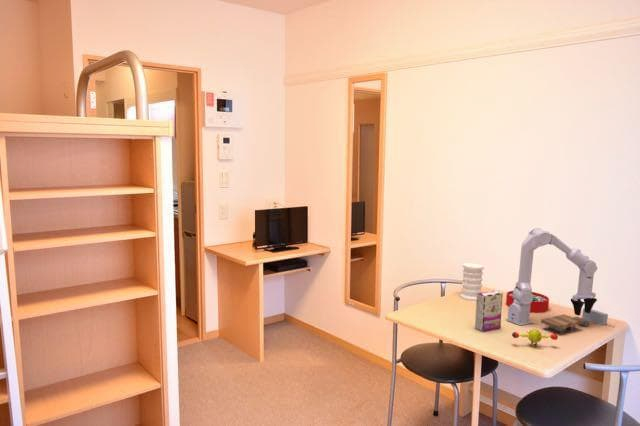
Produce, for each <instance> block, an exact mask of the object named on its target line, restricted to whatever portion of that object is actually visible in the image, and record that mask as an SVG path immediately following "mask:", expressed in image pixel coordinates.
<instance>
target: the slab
mask: <svg viewBox="0 0 640 426" xmlns="http://www.w3.org/2000/svg"><path fill="white" fill-rule="evenodd" d="M540 323H541V324H544V325H547V326H548V327H549V326H552V327H555V328H558V329H563V328H567V327H571V326H575V327H576V326H579V324H582V320H579V319H576V318H574V317H573V316H570V315H567V314H559V315H556V316H550V317H545V318H541V321H540Z"/></svg>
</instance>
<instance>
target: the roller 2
mask: <svg viewBox="0 0 640 426" xmlns="http://www.w3.org/2000/svg"><path fill="white" fill-rule="evenodd" d="M568 329H569V331H571V330H573V331H574V330H575V329H576V325H575V326H571V327H567V328H566V329H565V330H568Z"/></svg>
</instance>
